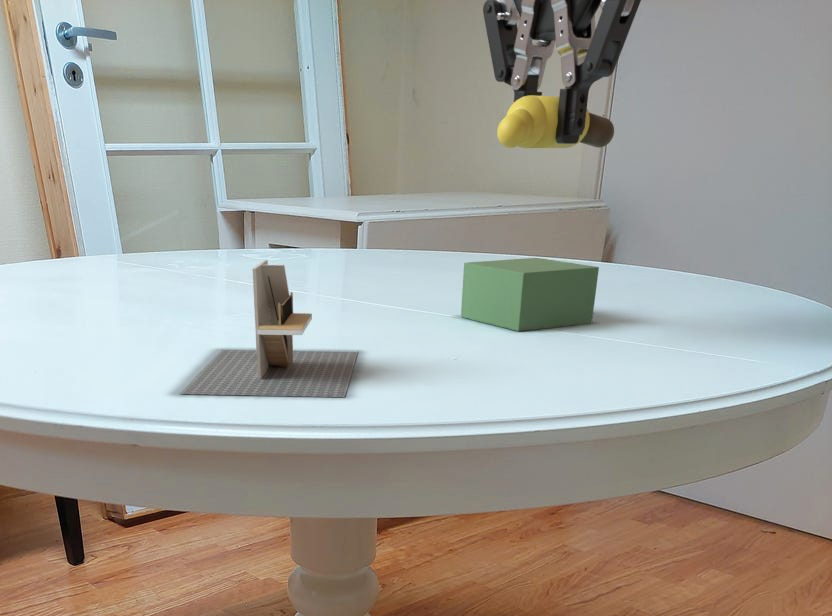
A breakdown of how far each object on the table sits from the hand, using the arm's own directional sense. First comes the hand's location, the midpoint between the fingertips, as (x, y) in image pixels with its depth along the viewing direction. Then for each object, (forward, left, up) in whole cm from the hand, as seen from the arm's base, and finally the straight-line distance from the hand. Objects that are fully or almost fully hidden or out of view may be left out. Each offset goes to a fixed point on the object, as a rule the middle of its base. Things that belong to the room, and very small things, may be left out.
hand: (545, 142), depth 72 cm
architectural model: (+24, +11, -15) cm, 30 cm away
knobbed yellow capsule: (+1, -1, 0) cm, 1 cm away
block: (-2, -8, -15) cm, 17 cm away
